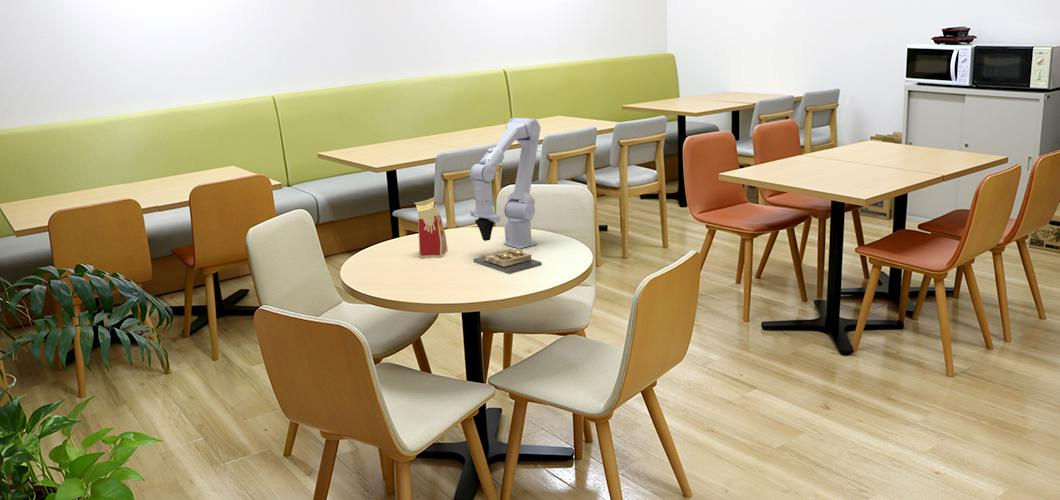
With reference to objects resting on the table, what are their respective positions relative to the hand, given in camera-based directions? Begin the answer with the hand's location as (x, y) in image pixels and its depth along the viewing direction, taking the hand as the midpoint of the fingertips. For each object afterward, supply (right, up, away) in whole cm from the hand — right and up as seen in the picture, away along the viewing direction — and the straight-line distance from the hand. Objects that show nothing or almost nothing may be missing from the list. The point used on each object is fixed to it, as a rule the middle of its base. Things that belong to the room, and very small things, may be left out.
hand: (486, 240), depth 300 cm
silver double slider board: (+7, -8, -7) cm, 13 cm away
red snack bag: (-19, -5, +9) cm, 22 cm away
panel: (+7, -6, -7) cm, 12 cm away
